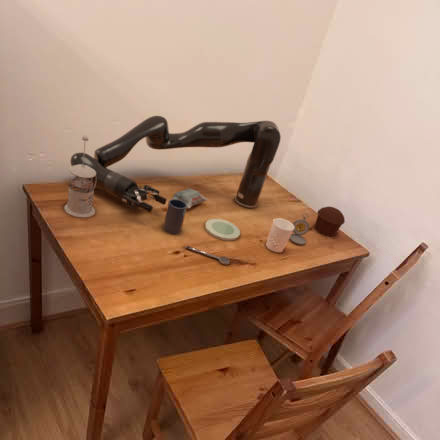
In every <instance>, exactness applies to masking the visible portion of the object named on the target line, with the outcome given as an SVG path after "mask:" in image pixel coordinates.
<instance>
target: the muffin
mask: <svg viewBox="0 0 440 440" xmlns="http://www.w3.org/2000/svg"><path fill="white" fill-rule="evenodd" d="M344 224H345V215H344V214H343V212H342V211H341V210H340V209H338V208H336V207H333V206H325V207H324V206H323V207H321V208H319V209H318V211H317V217H316V221H315V225H314V229H315V230H316V231H317V232H318V233H319V234H321V235H323V236H325V237H333V236H335V235H336V233H338V231H339V230H340V228H341V226H342V225H344Z"/></svg>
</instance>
